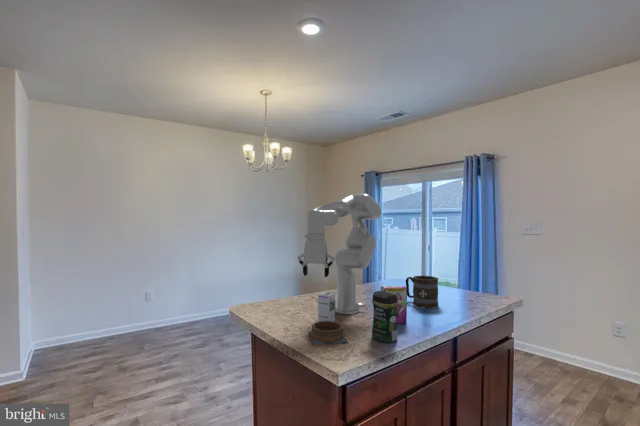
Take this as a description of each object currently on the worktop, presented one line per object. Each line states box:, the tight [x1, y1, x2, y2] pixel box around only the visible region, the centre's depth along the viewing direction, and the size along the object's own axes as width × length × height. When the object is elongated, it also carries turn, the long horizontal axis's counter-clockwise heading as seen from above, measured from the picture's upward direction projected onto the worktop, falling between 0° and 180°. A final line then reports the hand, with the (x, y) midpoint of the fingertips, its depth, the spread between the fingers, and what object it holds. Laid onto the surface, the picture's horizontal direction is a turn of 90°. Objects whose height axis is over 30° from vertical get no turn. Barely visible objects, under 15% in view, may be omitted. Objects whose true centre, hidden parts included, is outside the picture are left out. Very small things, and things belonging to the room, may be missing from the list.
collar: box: [308, 321, 349, 346], centre depth 133 cm, size 14×14×4 cm
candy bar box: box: [380, 285, 408, 325], centre depth 152 cm, size 11×5×16 cm, turn 100°
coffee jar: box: [371, 290, 398, 344], centre depth 131 cm, size 10×8×19 cm
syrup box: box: [317, 291, 337, 322], centre depth 146 cm, size 6×6×14 cm
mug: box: [405, 275, 439, 309], centre depth 184 cm, size 20×14×15 cm
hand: (315, 275), depth 148 cm, fingers open, 9 cm apart
